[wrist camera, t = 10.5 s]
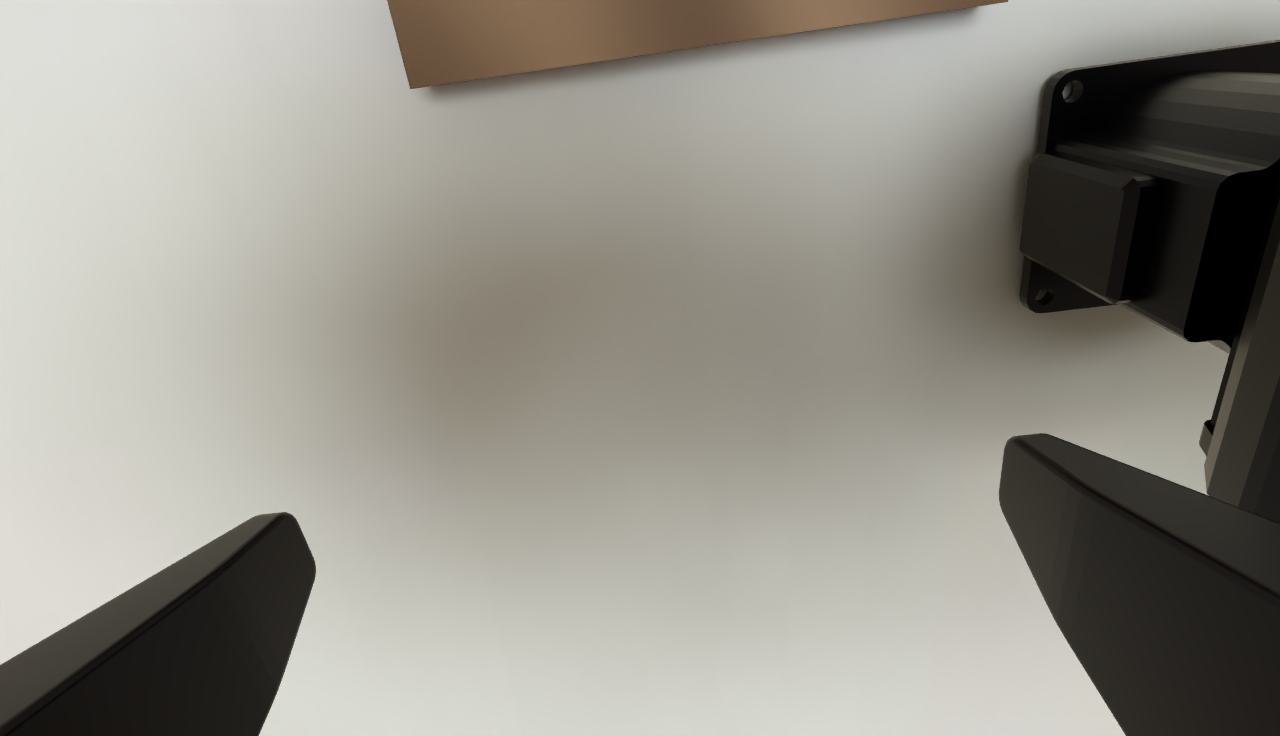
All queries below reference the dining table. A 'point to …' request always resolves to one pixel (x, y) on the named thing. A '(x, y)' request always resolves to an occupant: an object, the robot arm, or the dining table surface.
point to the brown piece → (605, 29)
